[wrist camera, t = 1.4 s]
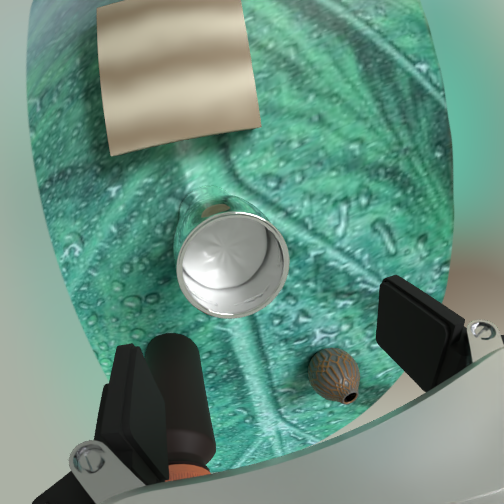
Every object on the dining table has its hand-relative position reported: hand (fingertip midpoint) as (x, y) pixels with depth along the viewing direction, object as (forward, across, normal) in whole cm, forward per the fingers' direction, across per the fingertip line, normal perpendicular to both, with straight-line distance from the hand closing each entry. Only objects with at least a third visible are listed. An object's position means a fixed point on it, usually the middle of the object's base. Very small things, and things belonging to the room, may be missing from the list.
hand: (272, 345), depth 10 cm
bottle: (+22, +8, +16) cm, 29 cm away
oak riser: (+22, +1, -16) cm, 27 cm away
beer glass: (+22, 0, 0) cm, 22 cm away
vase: (+22, -12, +24) cm, 35 cm away
